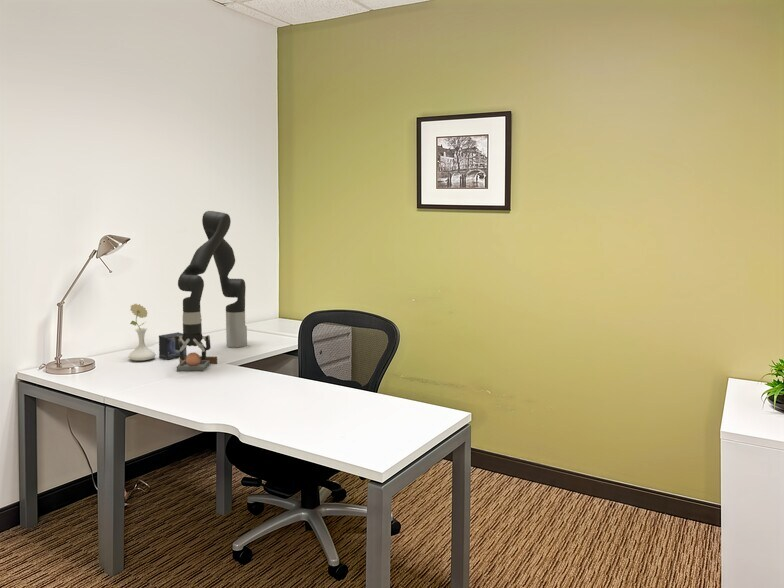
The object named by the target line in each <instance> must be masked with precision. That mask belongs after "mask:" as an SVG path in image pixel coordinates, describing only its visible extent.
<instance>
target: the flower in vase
mask: <svg viewBox="0 0 784 588" xmlns="http://www.w3.org/2000/svg"><path fill="white" fill-rule="evenodd" d="M129 311H131V312H132V314H133V315H134V316H135V321H134V320H131V322H130V324H129V325H132V326H137V327H138V328H135V332H136V333H137V336H138V346H137V347H136V348H134V349H133V350H132V351H131V352H130V353H129V354H128V359H130V360H132V361H136V362H138V361H148V360H152V359H154V358H155V357H157V354H156V353H155V352H154V351H153V350H152V349H151V348H149V347H148V346H146V343H145V336H146V335H145V334H146V332H147V330H148V328H146V327H143V328H142V327H140V326H143V325H145V322H143V323H141V324H140V325H139V324H138V321H137V320H138V317H139V318H141V319H143V318H146V317H148V310H146V307H144V306H143V305H141V304H138V303H133V304H131V305H130V310H129Z"/></svg>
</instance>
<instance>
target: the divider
mask: <svg viewBox="0 0 784 588" xmlns="http://www.w3.org/2000/svg"><path fill="white" fill-rule="evenodd" d="M199 356H200V359H201V360H202V355H199ZM184 357H185V359H184V360H186V357H187V356H184ZM184 360H181V359H180V357H179V364H180V363H181V362H183V361H184ZM205 360H210V365H217V364H218V356H206V358H205Z"/></svg>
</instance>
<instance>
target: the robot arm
mask: <svg viewBox="0 0 784 588" xmlns="http://www.w3.org/2000/svg"><path fill="white" fill-rule="evenodd" d="M201 220H202V221H201V222H202V223H201V224H202V226H203V230H204V233H205V235H206V238H207V241H206V242H204V243H203V244H202V245H200V246H199V247H198V248H197V249H196V250H195V252H194V253H193V256H192V258H191V260H190V263H189V265H188V266H186V268H185V269H184V270H183V271H182V272H181V274H180V276H179V277H178V280H177V286H178V288H179V290H180V291H182V292H190V296H186V297H184V298H183V300H182V334H183V336H179V335H177V336H176V337H175V350H179V351H180V359H181V360H184V359H185V357H184V349H185V347H186V348H187V346H188V347H198V348H199V349H200V350H201V356H202V360H205V358H206V357H207V351H209V350H210V349H211V348H212V347H211V346H212V345H211V336H210V335H203V332H202V331H203V330H202V325H203V324H202V319H203V318H202V313H201V312H202V311H201V300H202V297H203V296H202V295H203V291H204V287H205V282H204V279H203V277H202V276H201V275H203V274H204V273H205V272H206V271H207V269H208V266H209V264H210V261H211V259H212V258H213V259H214V262H215V266H216V269H217V272H218V276H219V282H220V283H219V284H220V287H221V292H222V295H223V296H224V297H225V298H236V299H237V300H236V301H235V302H233V303H229V304H227V305H225V333H226V347H228V348H242V347H243V348H244V347H245V346H246V345H248V331H247V330H248V327H247V325H246V291H247V290H246V282H245V279H244V278H230V277H229V274H230V273H231V271H232V270H233V268H234V266H235V264H236V256H235V252H234V250H233V247H232V246H231V245H230V244H229V242H228V241H227V240H225V237H226V235H227V233H228V232H229V230H230V226H231V217H230V214H228V213H225V212H222V211H221V212H220V211H214V210H206V211H205V212H204V213H203V215H202V219H201ZM181 339H183V341H184V342H185V343H184V344H183V345H182V347H180V340H181ZM202 341H205V345H204V343H203V342H202ZM180 359H179V360H180Z"/></svg>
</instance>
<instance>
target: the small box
mask: <svg viewBox="0 0 784 588" xmlns="http://www.w3.org/2000/svg"><path fill="white" fill-rule="evenodd" d="M177 335H179V336H183V332H179V331H178V332H172V333H166V334H161V335H158V351H159V352H158V353H159V355H158V358H159V359H162V360H166V361H168V360H173V359H178V358H179V357H180V351H179V350H175V337H176V336H177ZM184 343H185V342H184V341H183V339H181V340H180V347H182V345H183V344H184ZM187 355H188V354H187V346H186V347H185V349H184V356H187Z"/></svg>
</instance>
